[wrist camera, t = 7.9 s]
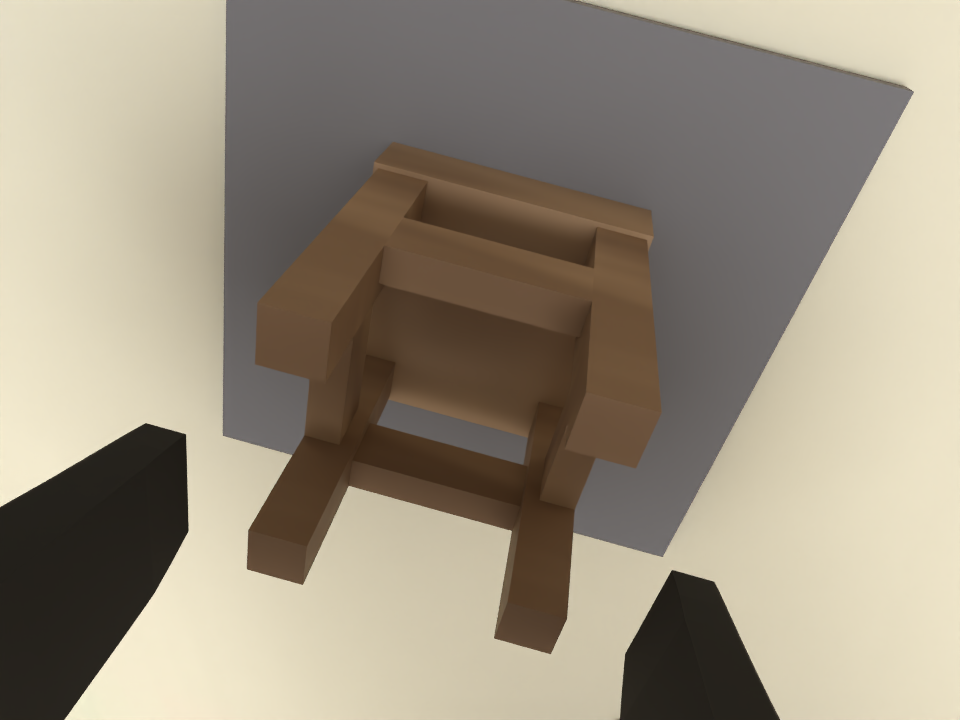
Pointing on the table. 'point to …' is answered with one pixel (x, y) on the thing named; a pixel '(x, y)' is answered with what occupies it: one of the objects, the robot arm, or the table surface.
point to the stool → (464, 363)
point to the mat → (559, 161)
